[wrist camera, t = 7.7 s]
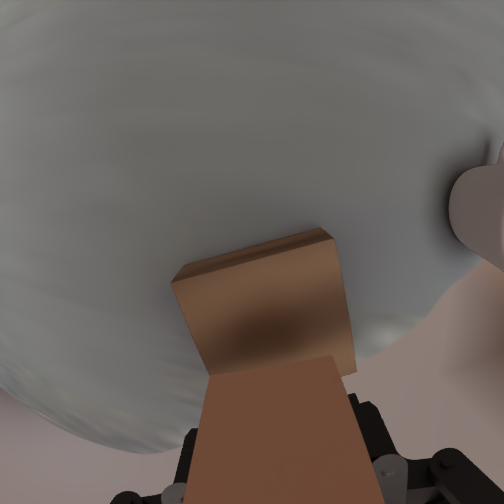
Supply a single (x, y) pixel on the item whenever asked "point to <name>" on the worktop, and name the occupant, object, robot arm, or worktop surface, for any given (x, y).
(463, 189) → the cup
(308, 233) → the walnut block
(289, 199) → the worktop surface
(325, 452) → the terracotta block
